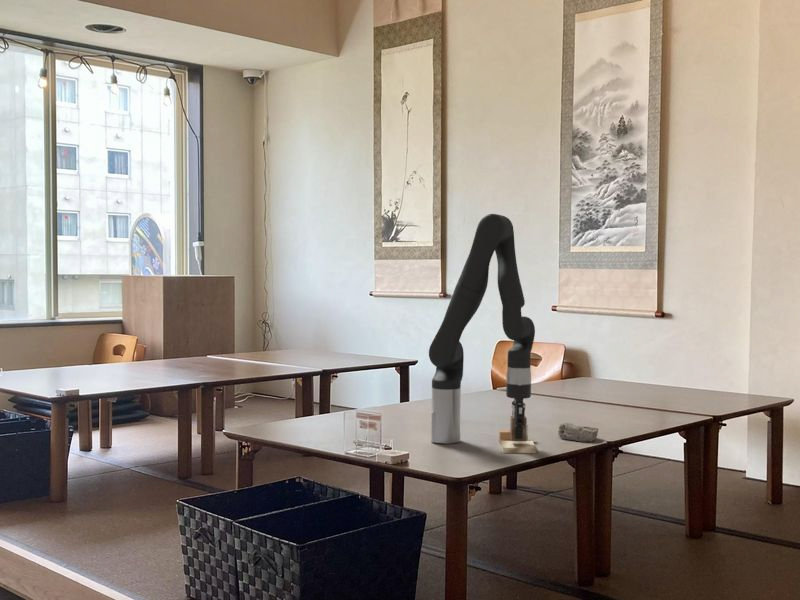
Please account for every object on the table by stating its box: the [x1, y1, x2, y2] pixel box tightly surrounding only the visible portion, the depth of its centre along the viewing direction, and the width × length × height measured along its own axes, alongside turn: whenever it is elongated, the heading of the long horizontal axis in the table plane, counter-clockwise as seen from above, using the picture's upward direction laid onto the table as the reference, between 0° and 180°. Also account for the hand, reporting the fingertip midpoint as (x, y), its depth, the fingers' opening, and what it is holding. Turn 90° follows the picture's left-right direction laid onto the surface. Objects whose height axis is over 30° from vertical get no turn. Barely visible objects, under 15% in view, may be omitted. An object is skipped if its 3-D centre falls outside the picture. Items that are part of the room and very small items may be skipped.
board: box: [499, 440, 537, 454], centre depth 282 cm, size 10×11×2 cm
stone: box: [557, 422, 599, 443], centre depth 299 cm, size 13×6×10 cm
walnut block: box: [509, 415, 528, 441], centre depth 281 cm, size 4×4×7 cm
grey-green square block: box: [526, 424, 529, 441], centre depth 295 cm, size 5×5×5 cm
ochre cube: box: [498, 429, 511, 444], centre depth 291 cm, size 4×4×4 cm
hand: (518, 436), depth 281 cm, fingers open, 4 cm apart
